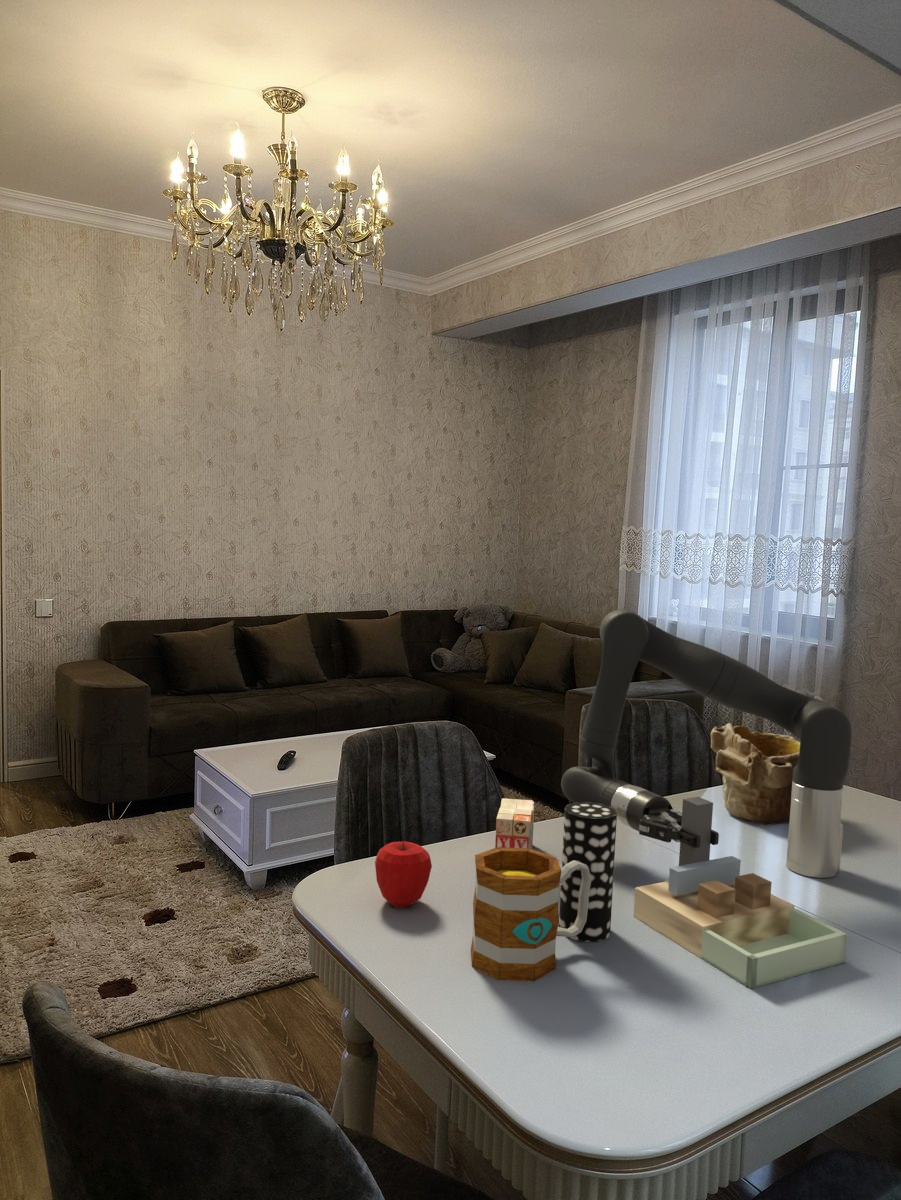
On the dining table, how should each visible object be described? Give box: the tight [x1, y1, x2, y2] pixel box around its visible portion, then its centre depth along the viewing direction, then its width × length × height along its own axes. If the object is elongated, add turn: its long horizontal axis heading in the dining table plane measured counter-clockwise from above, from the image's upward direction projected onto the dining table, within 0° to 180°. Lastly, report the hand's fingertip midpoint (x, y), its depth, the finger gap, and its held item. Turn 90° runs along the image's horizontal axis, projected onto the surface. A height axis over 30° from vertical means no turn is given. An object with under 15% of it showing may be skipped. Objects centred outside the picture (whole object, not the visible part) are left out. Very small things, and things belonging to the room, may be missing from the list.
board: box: [633, 880, 795, 959], centre depth 148 cm, size 20×16×5 cm
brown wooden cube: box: [697, 880, 736, 918], centre depth 142 cm, size 4×4×4 cm
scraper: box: [668, 796, 742, 896], centre depth 151 cm, size 14×6×14 cm, turn 118°
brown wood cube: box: [734, 872, 772, 910], centre depth 146 cm, size 4×4×4 cm
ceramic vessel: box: [710, 722, 800, 826], centre depth 206 cm, size 23×24×25 cm
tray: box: [700, 907, 848, 990], centre depth 137 cm, size 20×10×4 cm, turn 118°
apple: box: [374, 841, 433, 909], centre depth 152 cm, size 10×10×11 cm
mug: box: [470, 847, 591, 982], centre depth 134 cm, size 20×14×15 cm
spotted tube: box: [558, 802, 618, 943], centre depth 144 cm, size 8×8×20 cm
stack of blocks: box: [494, 798, 535, 849], centre depth 173 cm, size 21×6×12 cm, turn 172°
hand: (707, 840), depth 149 cm, fingers closed on scraper, 3 cm apart
